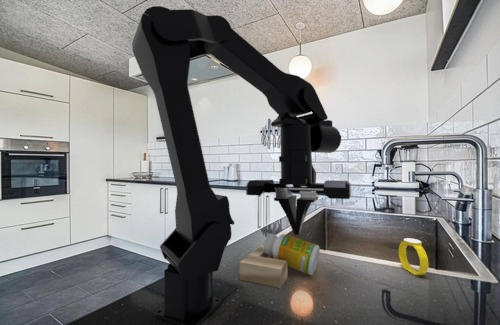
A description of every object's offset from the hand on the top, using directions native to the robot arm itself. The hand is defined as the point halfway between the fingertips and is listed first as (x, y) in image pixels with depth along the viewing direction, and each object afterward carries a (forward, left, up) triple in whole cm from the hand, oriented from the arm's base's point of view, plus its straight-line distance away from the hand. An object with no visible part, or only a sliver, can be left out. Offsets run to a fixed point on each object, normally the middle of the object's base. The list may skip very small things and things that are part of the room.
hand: (297, 234), depth 45 cm
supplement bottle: (0, -4, -4) cm, 6 cm away
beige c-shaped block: (0, +5, -7) cm, 8 cm away
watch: (+9, -19, -7) cm, 23 cm away
